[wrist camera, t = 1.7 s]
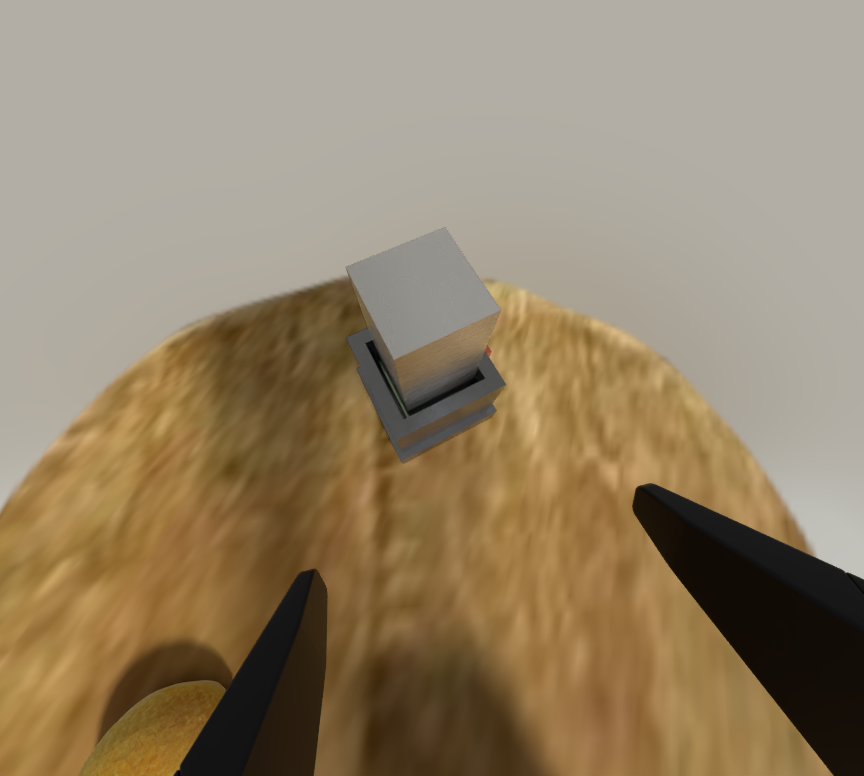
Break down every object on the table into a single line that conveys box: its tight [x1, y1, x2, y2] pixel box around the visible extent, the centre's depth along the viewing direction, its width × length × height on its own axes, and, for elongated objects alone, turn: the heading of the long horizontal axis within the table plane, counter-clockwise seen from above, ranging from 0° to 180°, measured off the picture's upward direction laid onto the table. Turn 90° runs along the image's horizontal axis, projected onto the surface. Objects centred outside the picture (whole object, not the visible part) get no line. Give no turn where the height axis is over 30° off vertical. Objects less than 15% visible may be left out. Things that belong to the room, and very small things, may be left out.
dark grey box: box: [346, 328, 506, 464], centre depth 20 cm, size 7×7×7 cm
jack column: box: [346, 227, 501, 418], centre depth 16 cm, size 4×4×11 cm
